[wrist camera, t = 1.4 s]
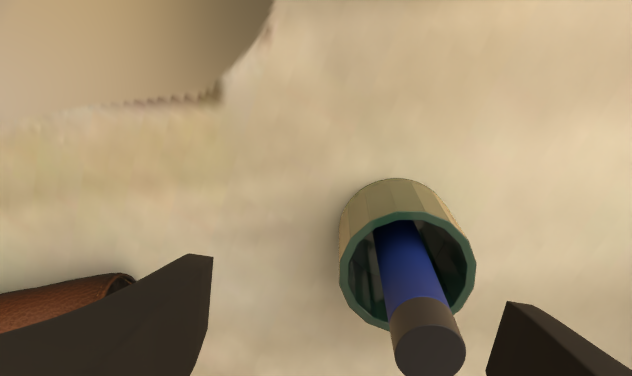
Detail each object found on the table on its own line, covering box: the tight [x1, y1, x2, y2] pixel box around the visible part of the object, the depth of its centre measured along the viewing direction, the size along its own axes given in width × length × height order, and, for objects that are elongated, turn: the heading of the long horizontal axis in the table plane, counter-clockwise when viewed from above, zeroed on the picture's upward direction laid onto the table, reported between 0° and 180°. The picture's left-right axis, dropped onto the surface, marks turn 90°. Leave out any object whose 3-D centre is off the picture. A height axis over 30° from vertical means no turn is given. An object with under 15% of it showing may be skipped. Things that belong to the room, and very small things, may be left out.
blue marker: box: [373, 220, 466, 376], centre depth 17 cm, size 2×2×8 cm
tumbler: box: [339, 178, 476, 332], centre depth 20 cm, size 5×5×4 cm
